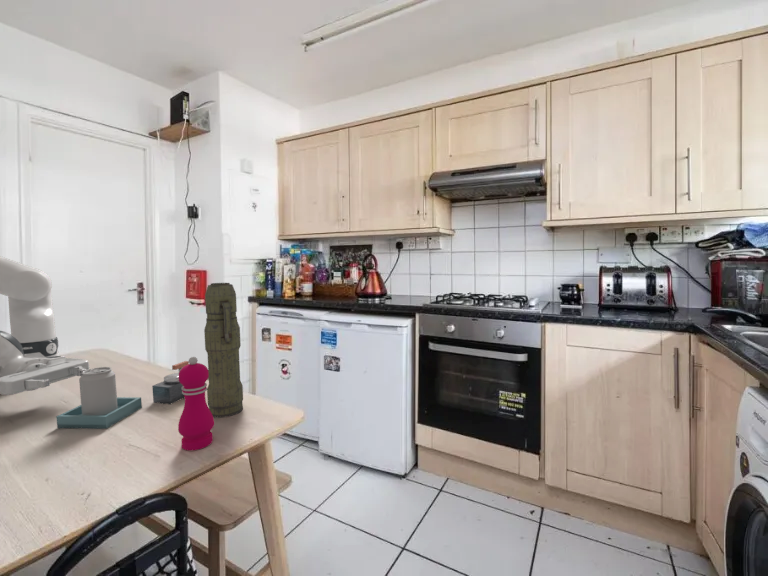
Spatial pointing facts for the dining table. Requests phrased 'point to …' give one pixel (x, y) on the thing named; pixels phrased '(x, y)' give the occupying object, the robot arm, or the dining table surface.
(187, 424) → the pepper mill
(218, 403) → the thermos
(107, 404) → the can
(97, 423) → the tray
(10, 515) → the dining table surface
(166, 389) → the crank housing
